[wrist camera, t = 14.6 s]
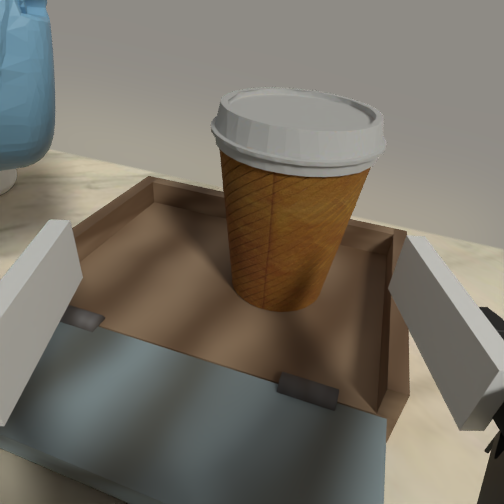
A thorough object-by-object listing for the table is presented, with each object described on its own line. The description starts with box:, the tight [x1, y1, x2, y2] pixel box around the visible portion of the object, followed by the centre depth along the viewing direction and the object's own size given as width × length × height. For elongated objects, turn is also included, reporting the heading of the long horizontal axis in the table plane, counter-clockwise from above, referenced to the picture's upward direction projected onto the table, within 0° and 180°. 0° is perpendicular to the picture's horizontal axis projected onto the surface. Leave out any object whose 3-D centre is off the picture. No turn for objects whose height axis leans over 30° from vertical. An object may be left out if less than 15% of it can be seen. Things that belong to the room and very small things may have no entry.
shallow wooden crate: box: [0, 176, 410, 504], centre depth 25 cm, size 23×23×4 cm
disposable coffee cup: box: [211, 87, 387, 312], centre depth 24 cm, size 10×10×12 cm
